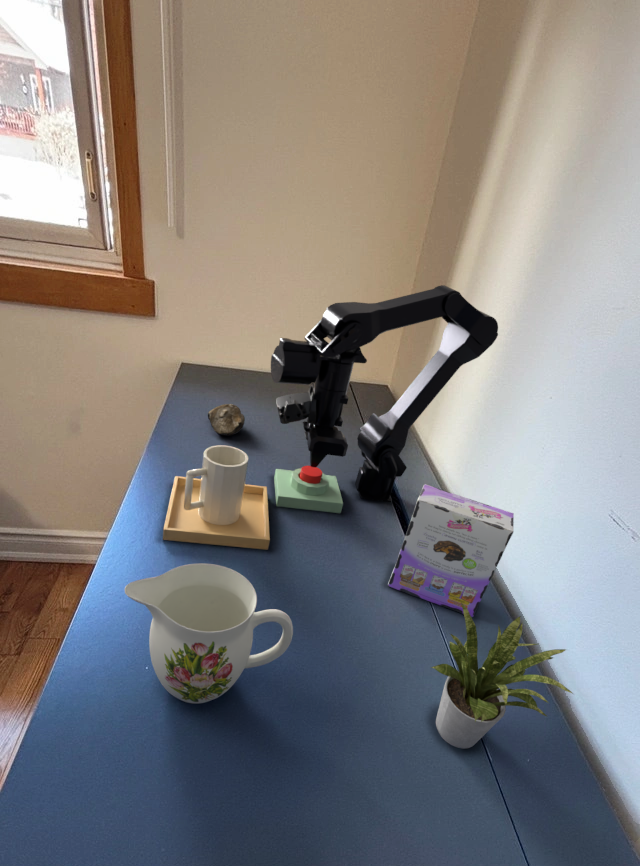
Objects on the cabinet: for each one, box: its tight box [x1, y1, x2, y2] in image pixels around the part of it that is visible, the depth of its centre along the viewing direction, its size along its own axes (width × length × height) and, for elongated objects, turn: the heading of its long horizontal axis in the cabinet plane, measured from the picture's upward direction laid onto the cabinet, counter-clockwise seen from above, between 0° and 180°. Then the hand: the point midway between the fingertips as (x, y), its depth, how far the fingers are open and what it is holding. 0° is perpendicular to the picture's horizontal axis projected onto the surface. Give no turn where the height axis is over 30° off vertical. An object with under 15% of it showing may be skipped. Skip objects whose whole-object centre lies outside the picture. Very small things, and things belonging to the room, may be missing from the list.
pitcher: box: [124, 562, 294, 704], centre depth 59 cm, size 11×18×14 cm, turn 101°
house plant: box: [430, 601, 574, 749], centre depth 58 cm, size 14×14×16 cm
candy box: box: [387, 483, 515, 618], centre depth 80 cm, size 14×6×16 cm, turn 71°
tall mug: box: [184, 444, 250, 525], centre depth 86 cm, size 10×7×11 cm
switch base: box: [273, 467, 344, 514], centre depth 100 cm, size 12×10×4 cm
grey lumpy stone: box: [207, 403, 246, 436], centre depth 116 cm, size 8×7×10 cm
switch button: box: [300, 465, 323, 484], centre depth 99 cm, size 4×4×2 cm
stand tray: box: [162, 475, 271, 551], centre depth 90 cm, size 16×16×2 cm
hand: (313, 466), depth 98 cm, fingers closed
